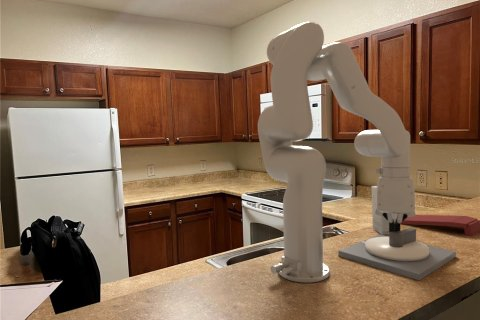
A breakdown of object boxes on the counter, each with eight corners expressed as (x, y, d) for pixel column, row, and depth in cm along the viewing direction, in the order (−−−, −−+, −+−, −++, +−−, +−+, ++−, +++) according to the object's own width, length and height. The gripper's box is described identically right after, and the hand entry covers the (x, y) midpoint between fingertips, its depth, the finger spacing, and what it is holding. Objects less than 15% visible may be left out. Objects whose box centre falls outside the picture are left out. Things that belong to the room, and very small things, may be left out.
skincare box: (400, 234, 114) (400, 188, 112) (380, 235, 114) (380, 189, 113) (389, 227, 122) (389, 184, 121) (370, 228, 122) (370, 185, 121)
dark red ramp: (395, 232, 129) (469, 237, 109) (393, 219, 129) (467, 222, 109) (411, 226, 136) (484, 230, 116) (409, 214, 136) (481, 216, 116)
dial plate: (419, 280, 79) (419, 273, 79) (338, 255, 96) (338, 249, 96) (455, 256, 93) (455, 250, 93) (379, 238, 110) (379, 233, 110)
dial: (405, 265, 84) (405, 246, 83) (353, 248, 97) (353, 231, 97) (441, 252, 92) (441, 235, 91) (388, 237, 105) (388, 222, 105)
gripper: (367, 174, 98) (367, 236, 99) (426, 175, 92) (425, 241, 93) (367, 171, 105) (367, 230, 106) (422, 172, 99) (421, 234, 100)
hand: (394, 235), depth 100 cm, fingers closed
